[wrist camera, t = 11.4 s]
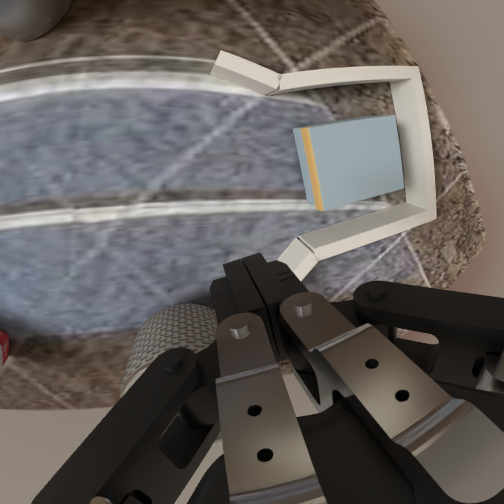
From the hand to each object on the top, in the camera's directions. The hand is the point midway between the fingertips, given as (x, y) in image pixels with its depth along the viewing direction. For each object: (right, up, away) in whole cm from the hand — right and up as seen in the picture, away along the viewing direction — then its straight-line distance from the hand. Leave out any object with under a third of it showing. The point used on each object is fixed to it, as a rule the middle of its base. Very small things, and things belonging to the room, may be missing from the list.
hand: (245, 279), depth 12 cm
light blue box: (+10, +12, +21) cm, 26 cm away
